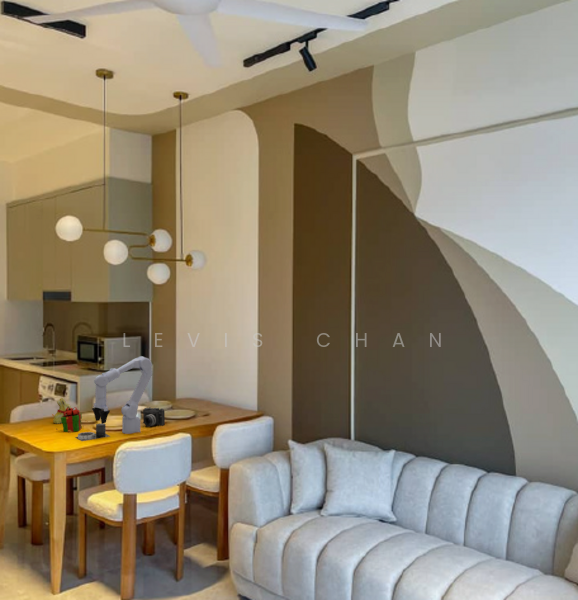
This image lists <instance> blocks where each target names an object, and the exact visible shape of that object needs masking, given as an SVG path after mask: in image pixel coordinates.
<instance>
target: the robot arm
mask: <svg viewBox="0 0 578 600" xmlns="http://www.w3.org/2000/svg"><path fill="white" fill-rule="evenodd" d="M152 367H153V363H152V361H151V359H150V358H148V357H145V356H142V355H140V356H137V357H136V358H133V359H131V360H130V361H128V362H126V363H125V364H123V365H121V366H120V367H118V368H115V367H113V368H109V370H108V371H105V372H102V373H101V374H99V375H97V376H95V378H94V380H93V382H94V384H95V395H94V396H95V400H94V401H95V402H94V403H93V407H91V410H92V412H93V414H94V419H95V421H96V422H97V421H98V422H99V421H100V424H101V423H103V424H107V423H106V422H107V418H108V416H109V413H110V410H109V407H108V405H107V385H108V383H110V382H113V381H115V380H117V379H118V378H120V375H121V374H122V373H125V372H127V371H129V370H131V369H139V370H140V373H141V376H140V377H139V380H138V382H137V384H136V386H135V388H134V390H133V392H132V393H131V397H130V398H129V400H127V401H126V403H125V404H124V405H123V406H122V407H121V414H122V419H121V420H122V425H121V426H122V430H121V431H122V433H123V434H126V435H127V434H128V435H129V434H134V433H142V432H141V419H140V417H139V416H137V414H138V409H139V403H140V401H141V398H142V397H143V394H144V392H145V390H146V388H147V386H148V384H149V382H150V381H151V378H152V376H153V368H152Z"/></svg>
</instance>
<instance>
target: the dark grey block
mask: <svg viewBox="0 0 578 600" xmlns="http://www.w3.org/2000/svg"><path fill="white" fill-rule="evenodd" d="M106 424H107V423H101V422H100V423H97V424H95V434H96V436H98V437H101V436H105V434H106V433H107V432H106Z"/></svg>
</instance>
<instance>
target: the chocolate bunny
mask: <svg viewBox="0 0 578 600" xmlns="http://www.w3.org/2000/svg"><path fill="white" fill-rule="evenodd" d="M56 403H57V406H58V409H57V410H56V411H57V412H56V413H55V415H54V416H53V419H52V422H53V424H56V425H57V424H63V423H62V422H61V417H62V416H64V415H63V413H64V412H65V410H66V408H68V409H69V408H72V406H71V405H70V404H69V403H67V401H66V400H65V398H64V397H60V398H59V399H58V400H57V401H56Z"/></svg>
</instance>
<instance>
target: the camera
mask: <svg viewBox="0 0 578 600" xmlns="http://www.w3.org/2000/svg"><path fill="white" fill-rule="evenodd" d="M142 414H143V417H142V418H143V424H144V425H145V426H146V427H153V426H155V425H156V426H165V419H166V416H165V409H164V408H159V407H154V408H152V407H151V406H149V407H144V409H143V410H142Z"/></svg>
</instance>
